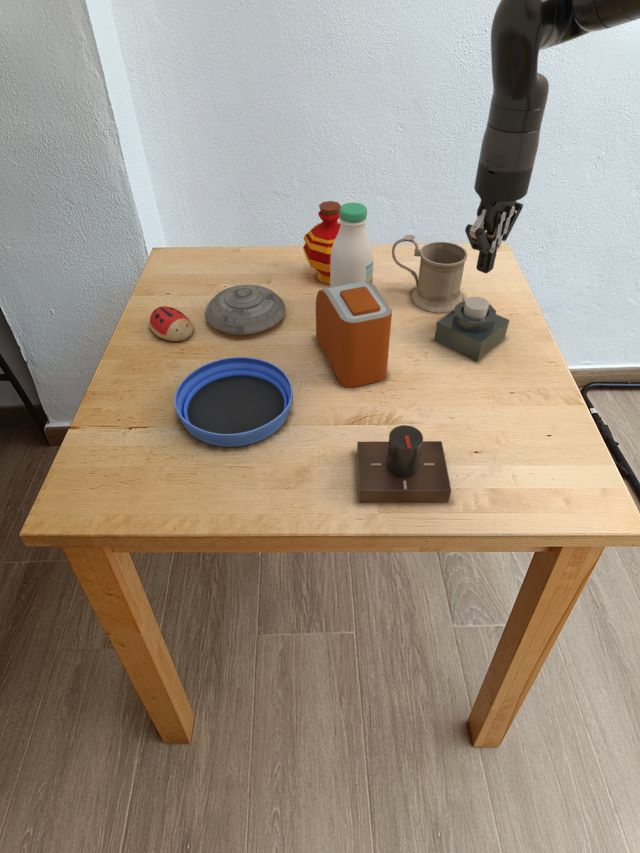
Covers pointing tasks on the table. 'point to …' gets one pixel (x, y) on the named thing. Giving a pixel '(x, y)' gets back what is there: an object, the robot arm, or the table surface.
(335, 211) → the potion bottle
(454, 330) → the push button base
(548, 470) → the table surface
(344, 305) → the alarm clock
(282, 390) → the bowl
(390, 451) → the dial
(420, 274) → the mug
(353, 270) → the milk bottle
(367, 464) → the dial panel
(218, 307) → the flying saucer
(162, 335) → the ladybug figurine
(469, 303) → the grey push button
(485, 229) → the robot arm
